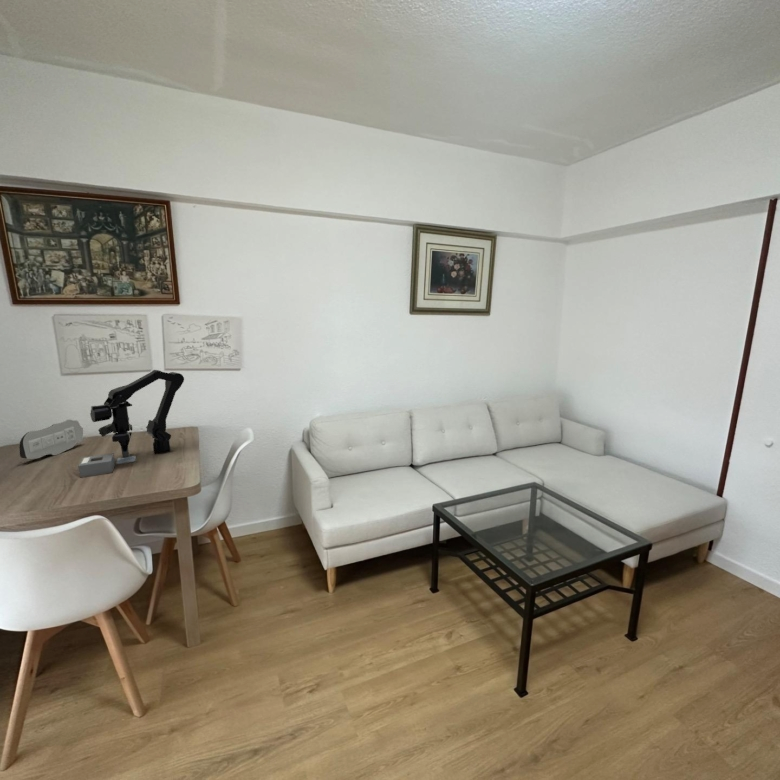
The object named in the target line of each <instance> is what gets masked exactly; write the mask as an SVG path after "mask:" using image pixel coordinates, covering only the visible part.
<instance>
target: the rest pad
mask: <svg viewBox="0 0 780 780" xmlns="http://www.w3.org/2000/svg"><path fill="white" fill-rule="evenodd" d="M136 457H137V456H136V455H132V456H131V455H130V456H129V457H127V458H123V457H118V458H117V459H116V462H115V465H121V464H127V463H128V464H129V463H133V462H136Z"/></svg>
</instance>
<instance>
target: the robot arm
mask: <svg viewBox="0 0 780 780" xmlns="http://www.w3.org/2000/svg"><path fill="white" fill-rule="evenodd" d="M158 380H163V381H164V384H165V385H164V387H165V390H164V392H163V395H162V397H161V401H160V404H159V406H158V408H157V412H156V414H155V417H154V418H153V419H152V420H151V419H149V420H148V422H147V426H146V427H145V428H146V432H147V434H148V435H149V436H151V437H152V439H153V442H152V448H153V452H154V454H155V455H156V454H157V455H158V454H163V453H169V452H171V444H170V440H171V438H172V435H171V433H168V432H167V431H166V429H167V418H168V415H169V412H170V409H171V408H172V404H173V401H174V399H175V395H176V392H177V391H178V390H180V388H181V387H182V385H183V384H184V381H185V377H184V375H183V374H181V373H179V372H174V371H171V372H165V371H161V370H159V369H153V370H152V371H150V372H148V373H147V374H145V375H143V376H141V377H139V378H138V379H135V380H134V381H132V382H130V383H128V384H125V385H122V386H118V387H116V388H115V387H114V388H112V389H111V390H110V391H108V397H107V398H106V400H105V401H104V403H103V404H100V405H92V406H91V407H90V413H89V414H90V419H91V422H93V423H96V422H97V423H98V422H103V421H108V420H110V419H111V418H112V422H111V423H108V424H107V425H104V426H101V427H100V428H98V432H99V433H98V434H99V435H101V437H104V436H106V435H109V434H111V433H113V434H112V437H111V439H112V442H114V443H116V442H118V443H119V445H120V448H121V447H122V450H123V452H126V451H127V448H128V449H129V443H130V441H131V437H132V434H133V433H132V431H133V425H132V424H130V417H129V411H128V407H132V406H133V404H132V403H130V402H129V401H128V400H129V399H131V398H132V396H133V395H134V394H135V393H136V392H138V391H140V390H141V389H144V388H145V387H147V386H148V385H150V384H152V383H155V382H156V381H158ZM122 450H121V451H122Z"/></svg>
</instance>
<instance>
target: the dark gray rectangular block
mask: <svg viewBox="0 0 780 780" xmlns="http://www.w3.org/2000/svg"><path fill="white" fill-rule="evenodd" d="M120 449H121V456H122V457H121V458H127V457H130V450H129V447H128V448H127V451H126V452H123V450H122V447H121V446H120Z"/></svg>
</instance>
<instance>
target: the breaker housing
mask: <svg viewBox="0 0 780 780" xmlns="http://www.w3.org/2000/svg"><path fill="white" fill-rule="evenodd" d="M115 459H116V458H115V453H114V452H110V453H103V454H99V455H98V454H97V455H90V456H82V459H81V460H80V461H79V464H78V466H77V467H78V473H79V478H85V477H92V476H98V475H99V476H100V475H105V474H111V473H113V471H114V468H115V465H116V460H115Z"/></svg>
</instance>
